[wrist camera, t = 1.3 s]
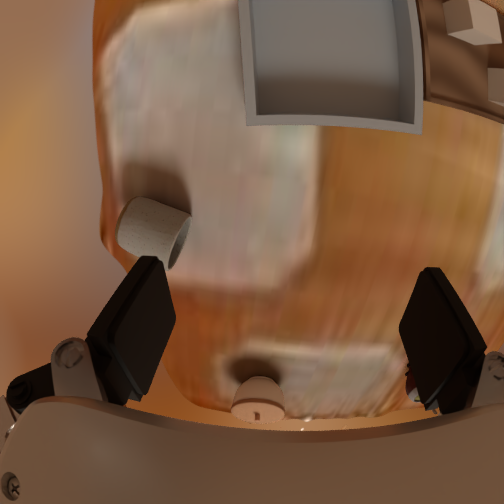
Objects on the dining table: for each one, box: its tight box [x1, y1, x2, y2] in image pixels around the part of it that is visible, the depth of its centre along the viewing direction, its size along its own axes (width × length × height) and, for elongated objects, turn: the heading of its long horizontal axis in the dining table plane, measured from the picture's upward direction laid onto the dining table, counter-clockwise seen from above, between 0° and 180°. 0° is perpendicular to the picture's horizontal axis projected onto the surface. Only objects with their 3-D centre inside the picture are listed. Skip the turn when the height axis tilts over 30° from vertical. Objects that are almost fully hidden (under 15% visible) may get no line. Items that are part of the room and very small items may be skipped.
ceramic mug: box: [115, 197, 192, 271], centre depth 34 cm, size 11×8×8 cm
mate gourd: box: [405, 364, 437, 414], centre depth 43 cm, size 8×8×15 cm
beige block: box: [442, 0, 502, 45], centre depth 14 cm, size 5×5×6 cm
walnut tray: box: [415, 0, 504, 124], centre depth 18 cm, size 18×20×1 cm
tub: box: [238, 0, 423, 135], centre depth 21 cm, size 18×18×5 cm
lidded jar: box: [231, 376, 285, 424], centre depth 51 cm, size 11×11×9 cm
